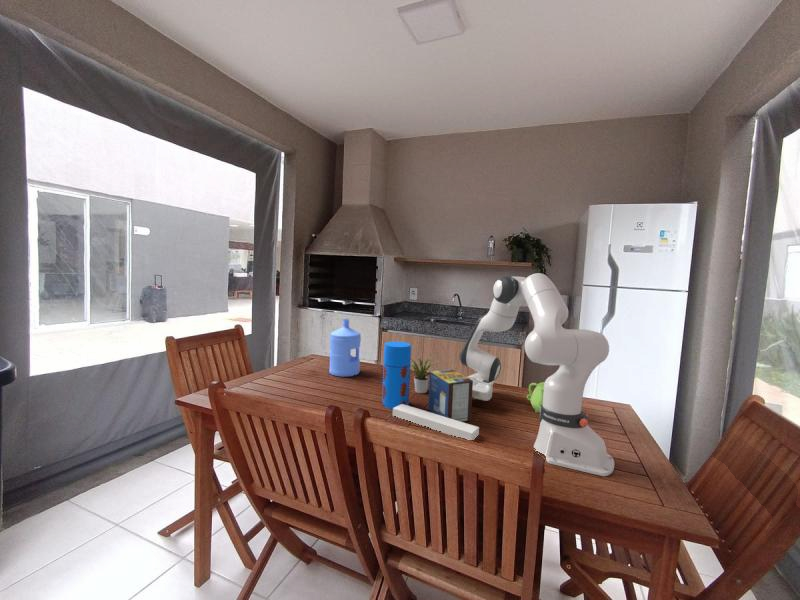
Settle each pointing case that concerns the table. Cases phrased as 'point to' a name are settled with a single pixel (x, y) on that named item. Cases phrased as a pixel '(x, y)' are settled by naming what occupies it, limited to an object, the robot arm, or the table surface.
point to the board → (436, 422)
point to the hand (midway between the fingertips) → (458, 394)
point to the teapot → (536, 396)
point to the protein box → (450, 395)
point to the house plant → (421, 376)
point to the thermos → (396, 374)
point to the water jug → (344, 351)
